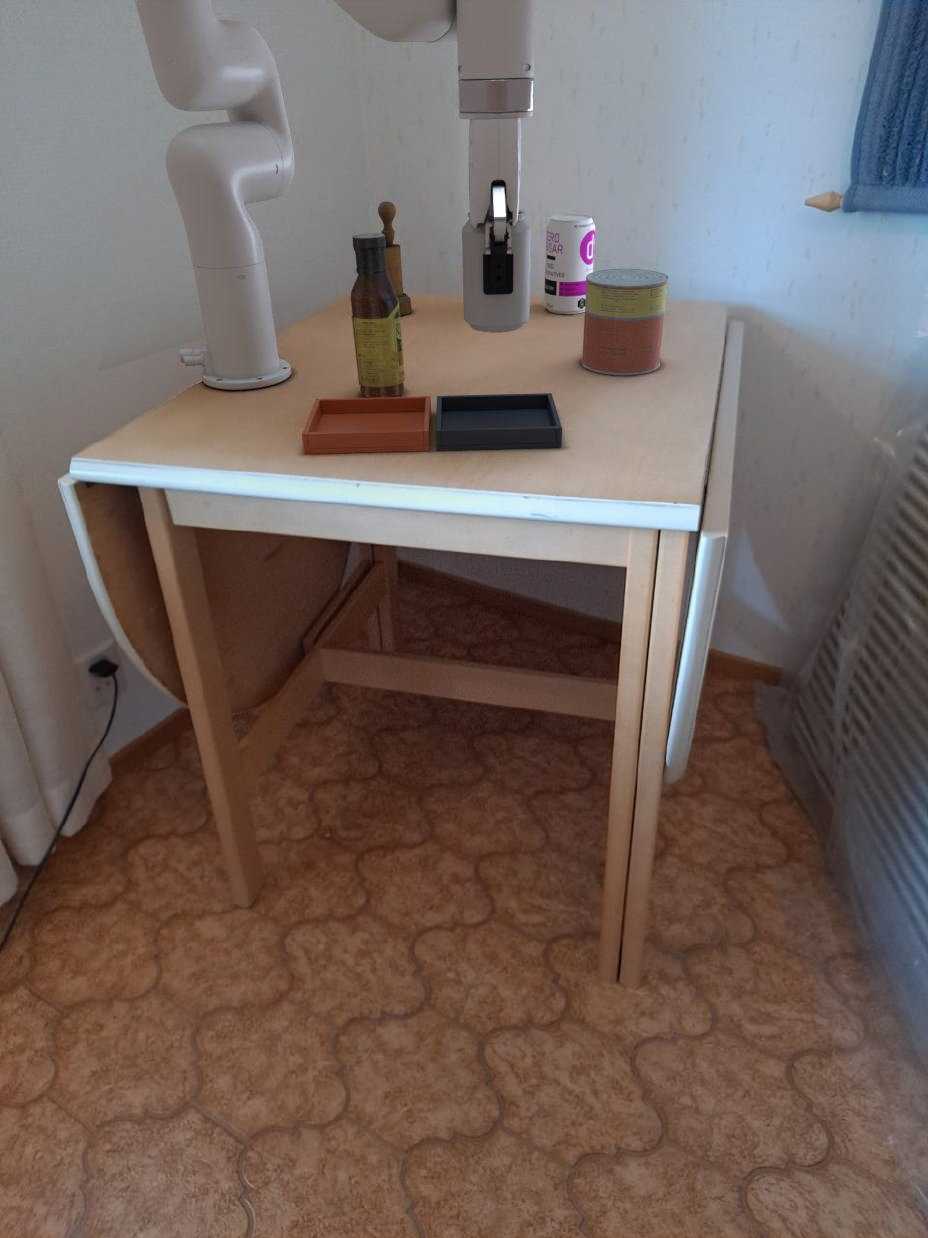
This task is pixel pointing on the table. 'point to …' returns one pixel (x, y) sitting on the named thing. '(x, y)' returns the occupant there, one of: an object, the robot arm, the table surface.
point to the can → (479, 307)
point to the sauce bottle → (376, 321)
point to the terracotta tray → (368, 425)
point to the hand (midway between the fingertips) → (496, 284)
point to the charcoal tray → (497, 422)
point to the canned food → (624, 321)
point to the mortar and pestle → (393, 255)
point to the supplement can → (568, 262)
